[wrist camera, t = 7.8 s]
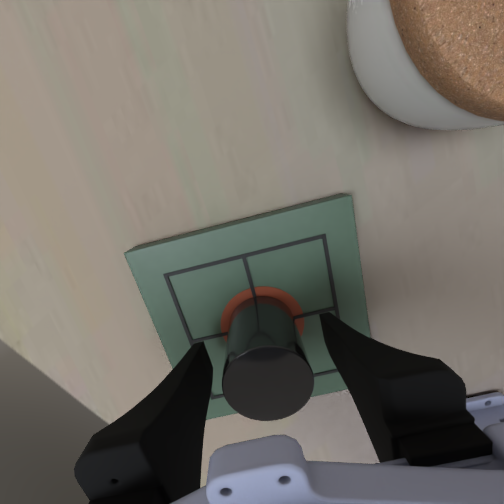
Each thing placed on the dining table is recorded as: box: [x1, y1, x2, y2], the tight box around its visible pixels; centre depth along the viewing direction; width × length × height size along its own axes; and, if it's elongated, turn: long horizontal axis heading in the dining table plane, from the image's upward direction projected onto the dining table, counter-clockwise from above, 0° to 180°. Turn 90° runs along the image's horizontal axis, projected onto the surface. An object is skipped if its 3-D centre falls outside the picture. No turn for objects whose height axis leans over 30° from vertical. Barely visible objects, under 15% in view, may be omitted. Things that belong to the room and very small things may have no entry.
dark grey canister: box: [222, 296, 314, 421], centre depth 14 cm, size 4×4×5 cm
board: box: [124, 194, 370, 420], centre depth 17 cm, size 14×14×2 cm
